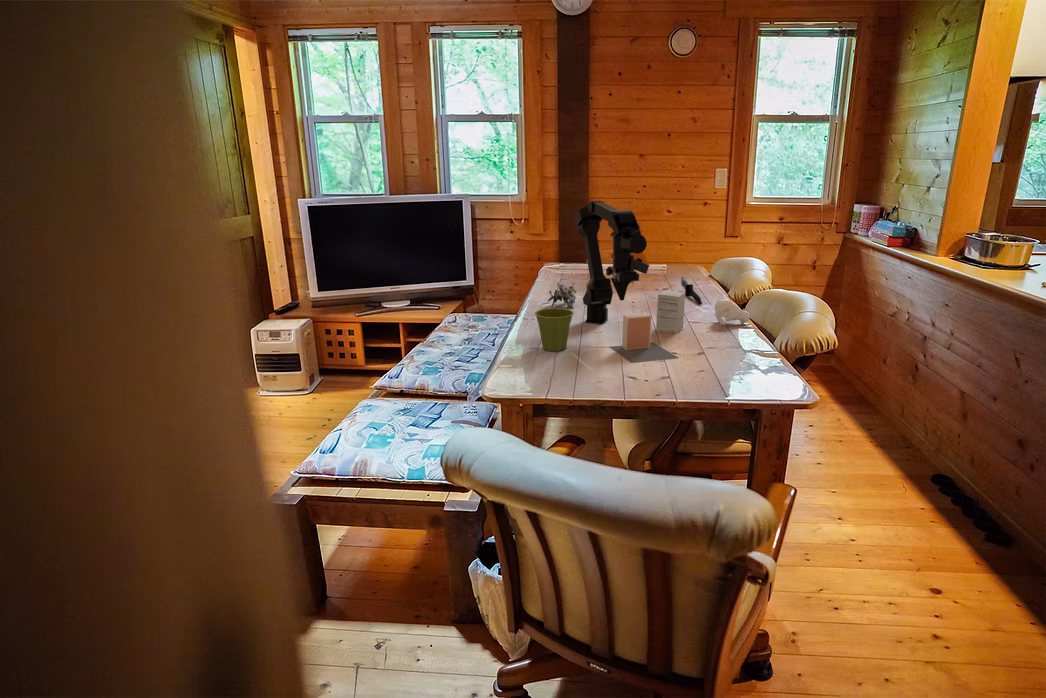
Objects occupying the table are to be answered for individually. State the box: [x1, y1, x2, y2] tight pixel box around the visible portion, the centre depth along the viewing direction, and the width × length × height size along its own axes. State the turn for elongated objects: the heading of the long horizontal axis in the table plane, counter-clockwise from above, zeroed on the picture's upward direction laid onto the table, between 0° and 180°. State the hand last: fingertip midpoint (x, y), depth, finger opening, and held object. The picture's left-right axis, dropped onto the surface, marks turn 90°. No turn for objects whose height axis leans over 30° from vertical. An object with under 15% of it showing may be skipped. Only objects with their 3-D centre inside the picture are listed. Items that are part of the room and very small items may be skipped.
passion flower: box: [547, 282, 577, 309], centre depth 237 cm, size 11×11×12 cm
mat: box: [609, 342, 679, 364], centre depth 182 cm, size 16×15×1 cm
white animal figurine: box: [714, 298, 751, 326], centre depth 211 cm, size 6×8×12 cm
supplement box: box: [655, 290, 686, 334], centre depth 204 cm, size 7×7×13 cm
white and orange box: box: [621, 313, 652, 350], centre depth 185 cm, size 3×8×10 cm, turn 105°
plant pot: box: [534, 307, 575, 352], centre depth 186 cm, size 12×12×11 cm
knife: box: [680, 276, 703, 306], centre depth 251 cm, size 31×3×4 cm, turn 177°
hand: (621, 300), depth 197 cm, fingers closed
